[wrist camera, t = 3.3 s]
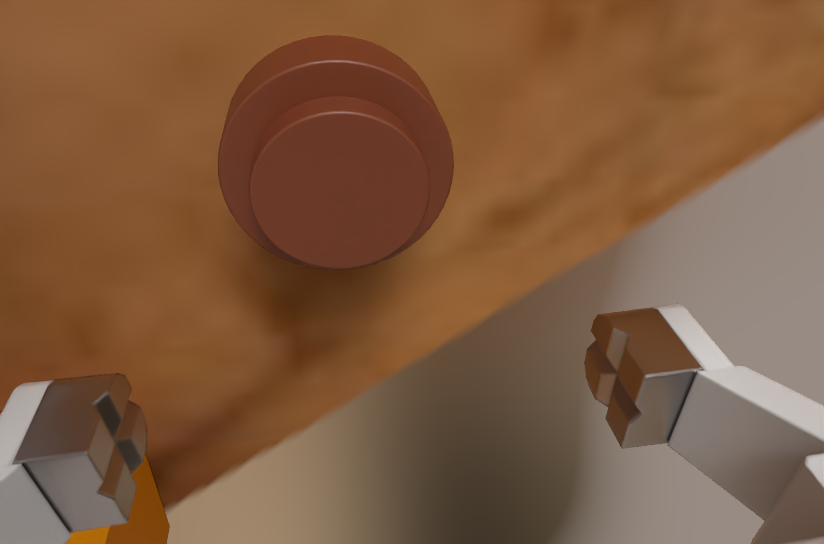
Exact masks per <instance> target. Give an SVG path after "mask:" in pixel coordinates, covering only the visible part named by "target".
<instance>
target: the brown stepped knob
mask: <svg viewBox="0 0 824 544" xmlns="http://www.w3.org/2000/svg"><path fill="white" fill-rule="evenodd" d="M453 169H454V162H453V150H452V144H451V139H450V136H449V133H448V130H447V127H446V125H445V123H444V121H443V119H442V117H441V115H440V113H439V111H438V109H437V107H436V105H435V103H434V101H433V99H432V97H431V95H430V93H429V91H428V89H427V87H426V85H425V84H424V83H423V81H422V80H421V78H420V77H419V76H418V74H417V73H416V72H415V71H414V70H413V69H412V68H411V67H410V66H409V65H408V64H407V63H406V62H404V61H403V60H402V59H401V58H400V57H398V56H397V55H395V54H393V53H392V52H390V51H389V50H387V49H385V48H383V47H381V46H379V45H376V44H374V43H372V42H369V41H365V40H362V39H358V38H353V37H347V36H328V35H325V36H317V37H309V38H306V39H302V40H298V41H294V42H292V43H290V44H287V45H285V46H282V47H280V48H278V49H277V50H275V51H273V52H272V53H270V54H268V55H267V56H266V57H264V58H263V59H262V60H261V61H260V62H258V63H257V64H256V65H255V66H254V67H253V68H252V69H251V70H250V71H249V72H248V74H247V75H246V76H245V77H244V79H243V80H242V82H241V83H240V85H239V86H238V88H237V90H236V92H235V94H234V96H233V98H232V100H231V103H230V107H229V110H228V113H227V117H226V121H225V125H224V129H223V134H222V138H221V142H220V147H219V154H218V175H219V181H220V187H221V190H222V193H223V196H224V199H225V201H226V204H227V206H228V208H229V210H230V212H231V213H232V215H233V216H234V218H235V219H236V221H237V222H238V224H239V225H240V226H241V227H242V229H243V230H244V231H245V232H246V233H247V234H248V235H249V236H250V237H251V238H252V239H253V240H254V241H256V242H257V243H258V244H259V245H260V246H262V247H263V248H265V249H266V250H268V251H269V252H271V253H273V254H275V255H276V256H278V257H280V258H282V259H285V260H287V261H290V262H292V263H295V264H299V265H302V266H306V267H311V268H317V269H326V270H345V269H354V268H361V267H365V266H369V265H373V264H376V263H379V262H381V261H384V260H387V259H389V258H391V257H393V256H395V255H397V254H399V253H400V252H402V251H403V250H405V249H407V248H408V247H410V246H411V245H412V244H413V243H415V242H416V241H417V240H418V239H419V238H421V237H422V236H423V234H424V233H425V232H426V231H427V230H428V229H429V228H430V227H431V225H432V224H433V223H434V221H435V220H436V219H437V217H438V216H439V214H440V212H441V210H442V208H443V207H444V204H445V202H446V199H447V197H448V194H449V191H450V187H451V183H452V178H453Z"/></svg>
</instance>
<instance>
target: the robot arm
mask: <svg viewBox="0 0 824 544" xmlns="http://www.w3.org/2000/svg"><path fill="white" fill-rule="evenodd" d="M591 332H592V334H593V335H594V337H595V339H596V341H595V342H593V343H592V344H591V345H590V346H589V348H587V351H586V357H585V373H586V379H587V381H588V385H589V388H590V390H591V392H592V394H593V396H594V398H595V399H596V400H598V401H599V402H601V403H602V404H604V405H605V406H607V407H608V411H607V415H606V420H607V422H608V424H609V426H610V428H611V429H612V431H613V433H614V435H615V437H616V439H617V440H618V442H619V444H620V446H621V448H631V447H639V446H647V445H655V444H663V443H668V446H669V447H670V448H672V449H673V450H674V451H675V452H677V453H678V454H679V455H681V456H682V457H683V458H685V459H686V460H687V461H688V462H690V463H691V464H692V465H694V466H695V467H696V468H697V469H699V470H700V471H701V472H703V473H704V474H705V475H707V476H708V477H709V478H710V479H712V480H713V481H714V482H715V483H717V484H718V485H719V486H721V487H722V488H723V489H724V490H726V491H727V492H728V493H730V494H731V495H732V496H734V497H735V498H736V499H738V500H739V501H740V502H741V503H743V504H744V505H745V506H746V507H748V508H749V509H750V510H752V511H753V512H754V513H756V514H757V515H758V516H759V517H761V518H762V519H763V520H764V523H763V524H762V526H761V528H760V529H759V530H758V532H757V534H756V535H755V537H754V538H753V540H752V543H751V544H824V406H823V405H821V404H819V403H817V402H815V401H813V400H811V399H809V398H807V397H805V396H803V395H801V394H799V393H797V392H795V391H793V390H791V389H789V388H787V387H785V386H783V385H781V384H779V383H777V382H775V381H773V380H771V379H769V378H767V377H764V376H763V375H761V374H759V373H757V372H754V371H753V370H751V369H749V368H747V367H745V366H743V365H742V366H734V365H733V364H732V363H731V362H730V361H729V359H728V358H727V357H726V356H725V355H724V353H723V352H722V351H721V350H720V349H719V347H718V346H717V345H716V344H715V343H714V342H713V340H712V339H711V338H710V337H709V336H708V334H707V333H706V332H705V331H704V330H703V329H702V327H701V326H700V325H699V324H698V323H697V321H696V320H695V319H694V318H693V317H692V315H691V314H690V313H689V312H688V311H687V310H686V309H685V308H684V307H683V306H681V305H679V304H672V305H665V306H657V307H651V308H644V309H637V310H629V311H621V312H613V313H605V314H598V315H597V317H596V318H595V319H594V321H593V325H592V329H591ZM131 389H132V388H131V386H130V384H129V382H128V380H127V378H126V376H125V375H124V374H120V373H115V374H105V375H95V376H85V377H74V378H64V379H55V380H52V381H41V382H30V383H22V384H21V385H19V386H18V387H17V388H15V389H14V390H13V392H12V394H11V396H10V398H9V399H8V401H7V403H6V405H5V407H4V409H3V411H2V413H1V415H0V544H66V542H67V541H68V540H69V539H70V537H71V534H70V533H74V532H80V531H85V530H91V529H97V528H102V527H108V526H114V525H119V524H125V523H128V519H129V515H130V511H131V508H132V504H133V500H134V496H135V492H136V488H137V484H136V483H135V481H134V479H133V477H132V475H131V474H132V473H133V472H134V471H135V470H136V469H137V468H138V467H139V465H140V464H141V463H142V462H143V460H144V456H145V451H146V447H147V427H146V423H145V418H144V415H143V413H142V410H141V408H140V406H138V405H136V404H135V403H133V402H131V401H129V400H128V399H129V396H130V393H131Z"/></svg>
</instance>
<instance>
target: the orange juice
mask: <svg viewBox="0 0 824 544" xmlns="http://www.w3.org/2000/svg"><path fill="white" fill-rule="evenodd" d="M131 475H132V477H133V479H134V481H135V483H136V484H137V488H136V492H135V496H134V500H133V504H132V508H131V511H130V515H129V519H128V523H125V524H119V525H114V526H108V527H102V528H97V529H91V530H85V531H80V532H74V533H70V534H71V537H70V539H69V540H68V541H67V542H66V544H166V543H167V537H168V532H169V527H170V526H169V523H168V520H167V517H166V514H165V511H164V508H163V505H162V502H161V499H160V496H159V493H158V490H157V487H156V484H155V481H154V478H153V475H152V472H151V469H150V466H149V463H148V460H147V457H146V454H145V456H144V460H143V462H142V463H141V464H140V465H139V467H138V468H137V469H136V470H135V471H134V472H133V473H132V474H131Z"/></svg>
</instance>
